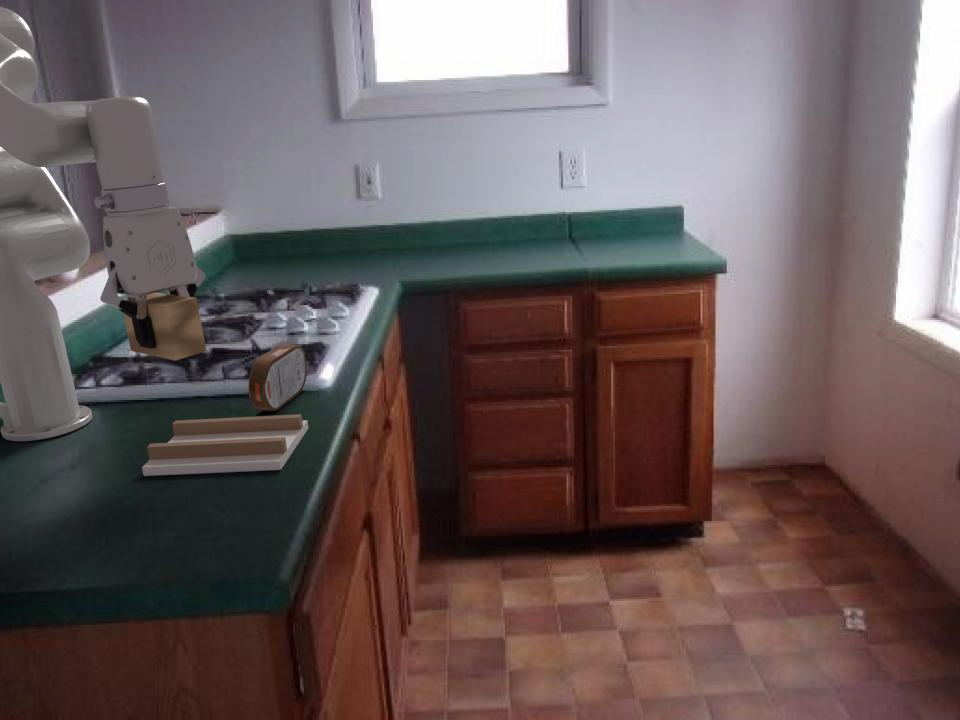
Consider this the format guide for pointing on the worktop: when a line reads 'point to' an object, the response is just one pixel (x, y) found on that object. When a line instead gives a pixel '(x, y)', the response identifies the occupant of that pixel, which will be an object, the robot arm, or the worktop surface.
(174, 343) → the oak block
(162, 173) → the robot arm
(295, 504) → the worktop surface
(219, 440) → the cradle
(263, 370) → the tin
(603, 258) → the worktop surface
